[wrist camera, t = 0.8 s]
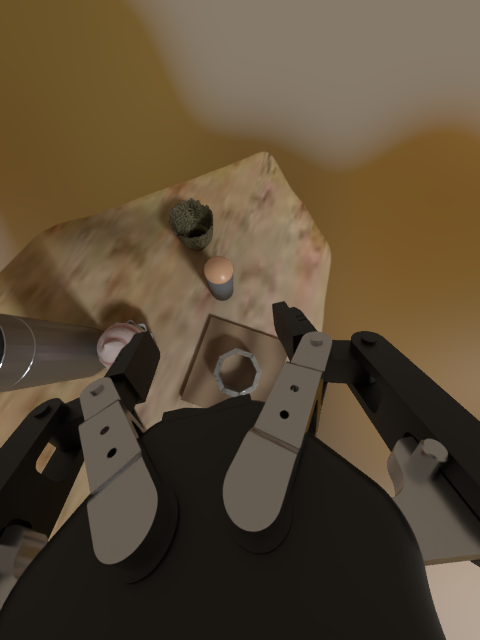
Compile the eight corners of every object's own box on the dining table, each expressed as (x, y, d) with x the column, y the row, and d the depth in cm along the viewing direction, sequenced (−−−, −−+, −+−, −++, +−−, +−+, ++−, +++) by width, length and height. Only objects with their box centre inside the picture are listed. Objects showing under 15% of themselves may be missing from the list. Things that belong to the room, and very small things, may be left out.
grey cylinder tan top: (208, 296, 39) (199, 278, 29) (215, 277, 40) (209, 252, 30) (229, 303, 39) (227, 287, 29) (236, 283, 39) (236, 261, 30)
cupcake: (153, 315, 38) (125, 303, 28) (172, 358, 37) (149, 361, 27) (107, 336, 37) (61, 331, 27) (125, 381, 36) (84, 393, 26)
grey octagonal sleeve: (210, 384, 35) (208, 387, 32) (224, 344, 36) (223, 343, 33) (250, 398, 35) (252, 403, 32) (263, 357, 36) (266, 358, 33)
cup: (224, 240, 41) (221, 213, 33) (203, 266, 40) (195, 245, 32) (195, 221, 41) (186, 190, 33) (174, 247, 40) (160, 221, 32)
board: (182, 398, 36) (180, 399, 35) (212, 317, 38) (211, 316, 37) (264, 427, 35) (265, 429, 34) (288, 343, 38) (290, 343, 37)
